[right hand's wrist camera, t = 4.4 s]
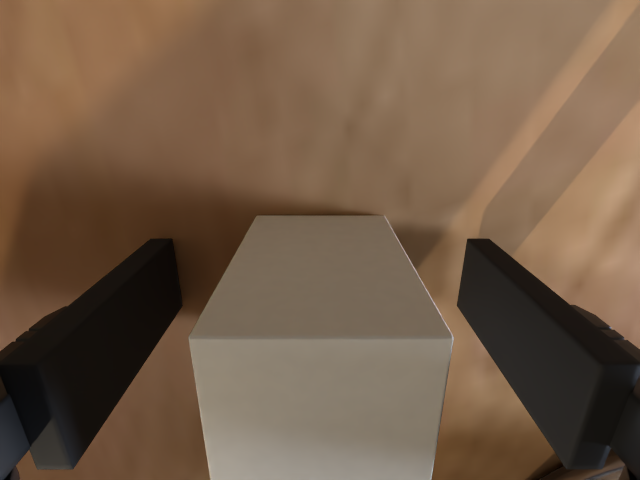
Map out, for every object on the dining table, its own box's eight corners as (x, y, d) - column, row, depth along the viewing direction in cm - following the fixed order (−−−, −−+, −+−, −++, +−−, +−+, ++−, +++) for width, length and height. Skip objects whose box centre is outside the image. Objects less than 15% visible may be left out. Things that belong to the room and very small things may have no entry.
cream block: (385, 215, 13) (455, 337, 6) (377, 325, 14) (426, 514, 8) (256, 215, 13) (186, 336, 6) (263, 325, 14) (214, 515, 8)
